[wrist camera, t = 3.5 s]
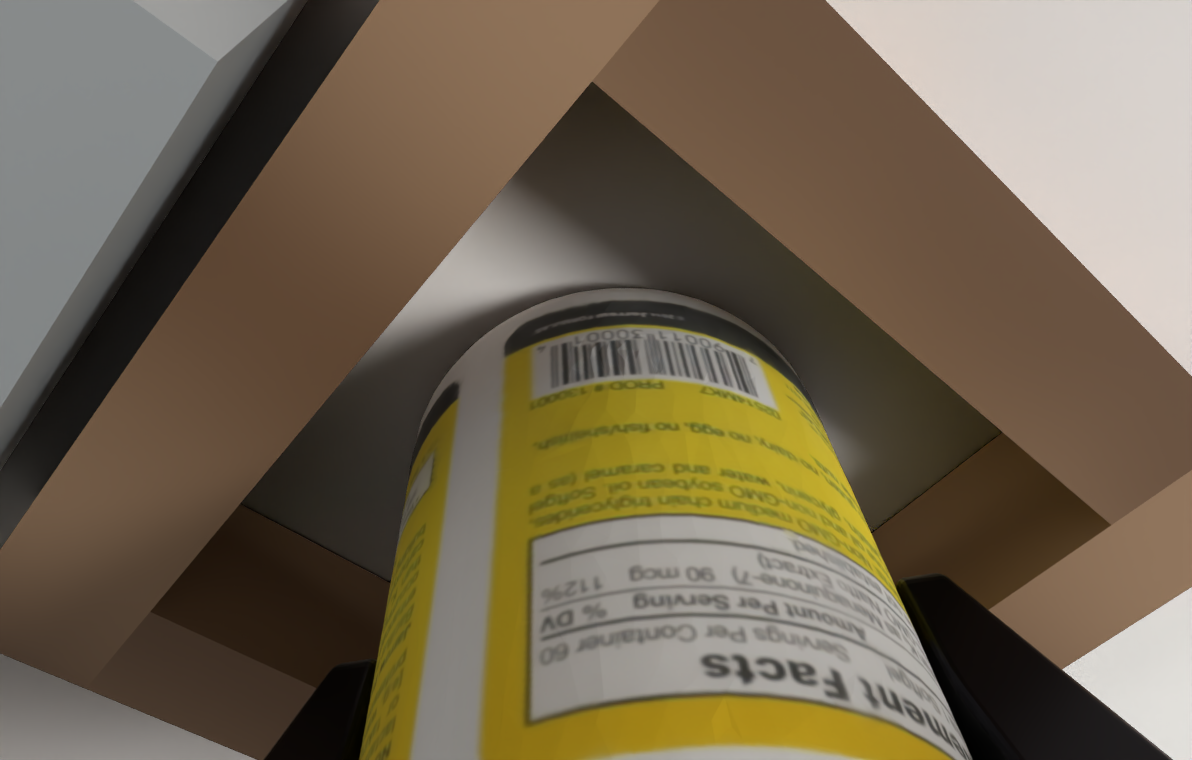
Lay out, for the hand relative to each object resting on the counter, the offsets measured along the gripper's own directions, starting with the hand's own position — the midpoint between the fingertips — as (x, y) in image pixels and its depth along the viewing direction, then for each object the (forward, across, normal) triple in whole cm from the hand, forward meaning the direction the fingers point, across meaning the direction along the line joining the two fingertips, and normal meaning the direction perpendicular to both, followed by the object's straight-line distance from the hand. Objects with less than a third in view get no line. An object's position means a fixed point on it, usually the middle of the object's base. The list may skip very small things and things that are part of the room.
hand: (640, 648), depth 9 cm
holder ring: (+3, 0, 0) cm, 3 cm away
